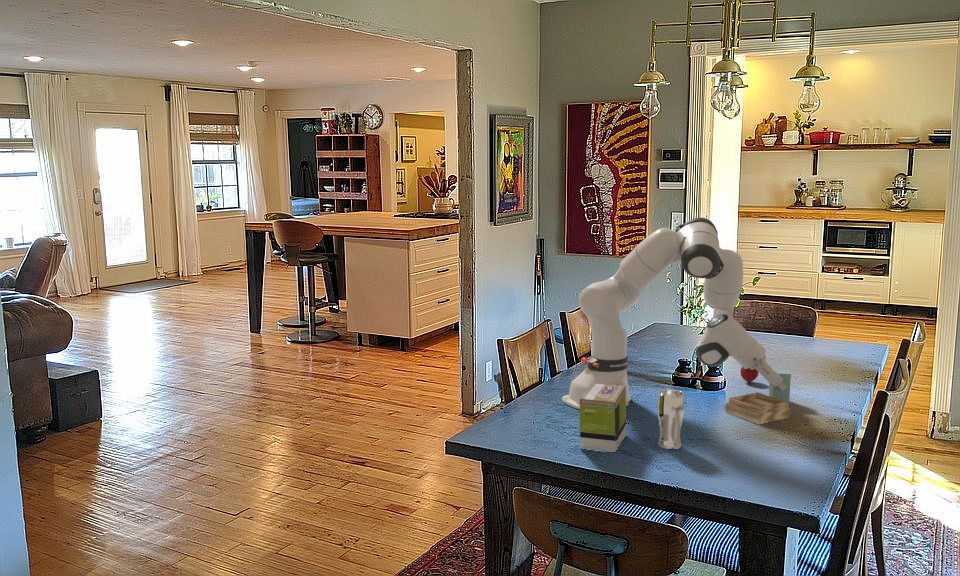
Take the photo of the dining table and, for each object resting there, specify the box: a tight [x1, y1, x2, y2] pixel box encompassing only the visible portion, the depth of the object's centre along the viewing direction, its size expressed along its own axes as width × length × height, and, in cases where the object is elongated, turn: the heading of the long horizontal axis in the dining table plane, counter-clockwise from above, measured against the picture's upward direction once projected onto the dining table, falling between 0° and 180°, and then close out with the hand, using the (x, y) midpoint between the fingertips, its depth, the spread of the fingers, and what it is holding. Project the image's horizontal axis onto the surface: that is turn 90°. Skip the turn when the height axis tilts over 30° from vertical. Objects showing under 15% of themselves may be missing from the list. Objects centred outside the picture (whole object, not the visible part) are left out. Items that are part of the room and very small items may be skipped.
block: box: [768, 368, 792, 404], centre depth 248 cm, size 5×5×10 cm
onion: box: [740, 366, 759, 384], centre depth 270 cm, size 6×6×8 cm
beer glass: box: [657, 388, 685, 449], centre depth 212 cm, size 7×7×15 cm
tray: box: [725, 392, 792, 426], centre depth 237 cm, size 13×13×4 cm
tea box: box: [579, 383, 627, 453], centre depth 216 cm, size 15×10×15 cm, turn 159°
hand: (781, 385), depth 248 cm, fingers closed on block, 5 cm apart
